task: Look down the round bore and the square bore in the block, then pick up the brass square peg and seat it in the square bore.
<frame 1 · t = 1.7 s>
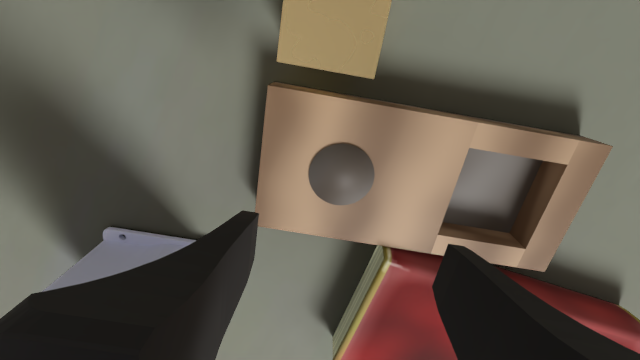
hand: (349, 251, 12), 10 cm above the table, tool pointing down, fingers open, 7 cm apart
brass peg: (332, 29, 18), on the table
bore block: (411, 174, 22), on the table
hardcover book: (464, 315, 27), on the table
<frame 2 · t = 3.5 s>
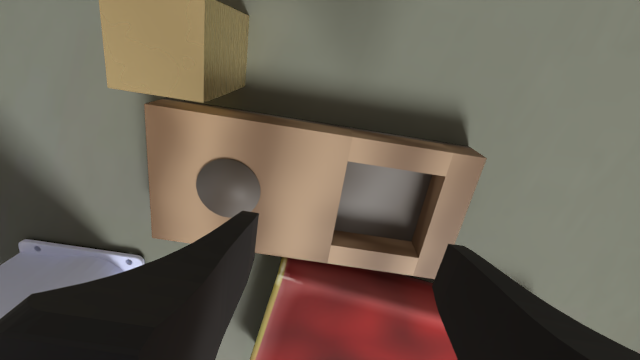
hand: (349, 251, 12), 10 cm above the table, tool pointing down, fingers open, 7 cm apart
brass peg: (214, 47, 19), on the table
bore block: (310, 185, 22), on the table
hardcover book: (383, 323, 28), on the table
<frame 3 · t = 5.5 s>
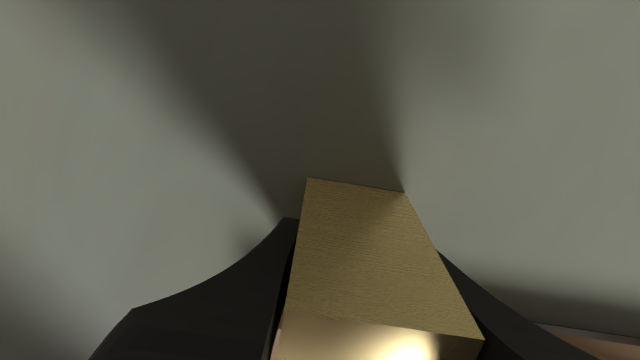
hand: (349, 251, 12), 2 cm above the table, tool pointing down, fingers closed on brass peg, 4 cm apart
brass peg: (346, 227, 13), on the table, touching gripper
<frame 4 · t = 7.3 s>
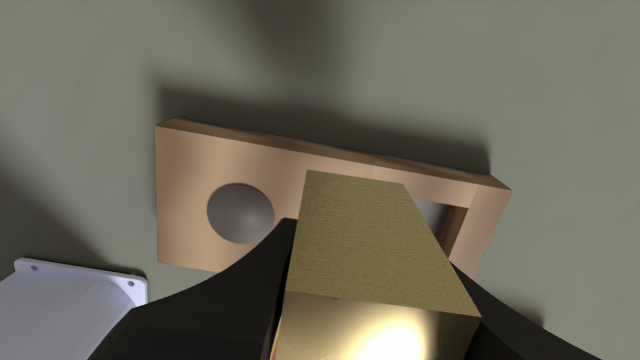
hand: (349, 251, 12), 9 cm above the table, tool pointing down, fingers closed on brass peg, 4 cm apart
brass peg: (346, 219, 13), point 7 cm above the table, touching gripper
bore block: (324, 209, 21), on the table
when the fingers open (3 cm above the table, at t = 9.4 s): brass peg stays where it is, resting on bore block.
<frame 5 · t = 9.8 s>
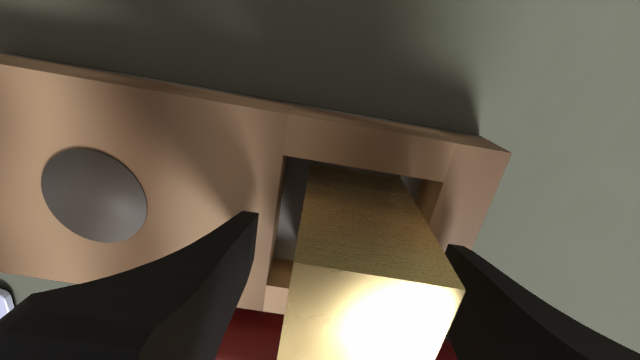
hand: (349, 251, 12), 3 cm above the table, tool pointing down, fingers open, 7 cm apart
brass peg: (346, 210, 14), resting on bore block
bore block: (240, 192, 15), on the table
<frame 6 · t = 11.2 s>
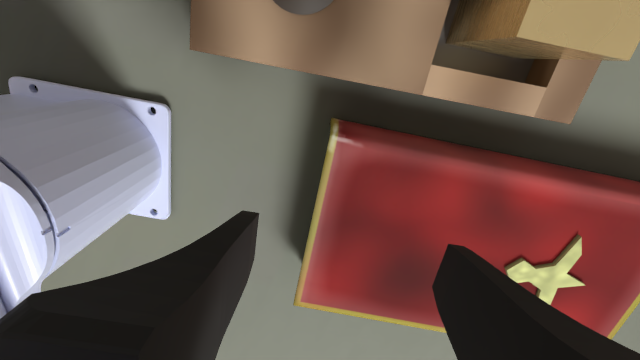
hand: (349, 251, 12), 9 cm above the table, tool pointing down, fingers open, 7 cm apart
brass peg: (495, 10, 16), resting on bore block
hardcover book: (457, 225, 22), on the table
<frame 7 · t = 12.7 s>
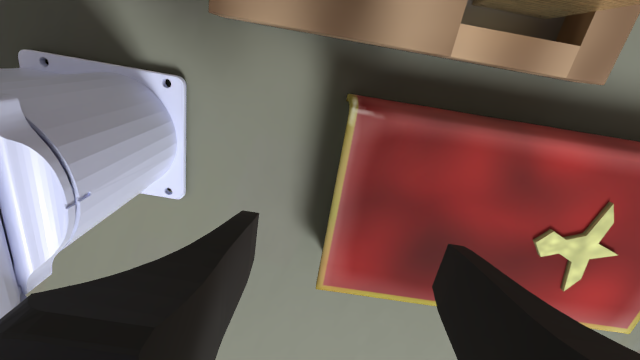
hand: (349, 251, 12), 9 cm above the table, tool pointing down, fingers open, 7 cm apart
hardcover book: (478, 202, 22), on the table
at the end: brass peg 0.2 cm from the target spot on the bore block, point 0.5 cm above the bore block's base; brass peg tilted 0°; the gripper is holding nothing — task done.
